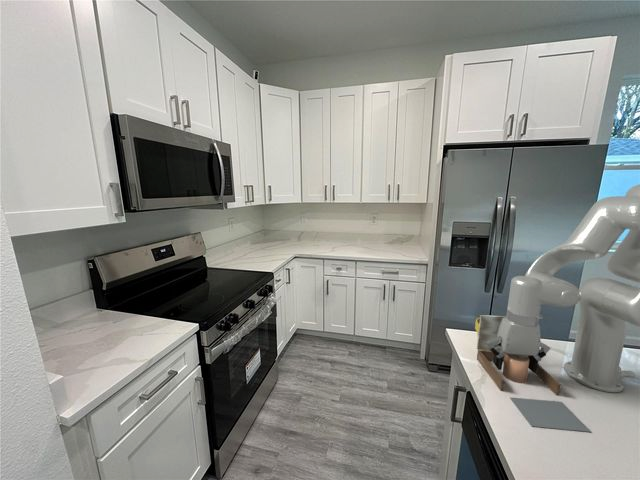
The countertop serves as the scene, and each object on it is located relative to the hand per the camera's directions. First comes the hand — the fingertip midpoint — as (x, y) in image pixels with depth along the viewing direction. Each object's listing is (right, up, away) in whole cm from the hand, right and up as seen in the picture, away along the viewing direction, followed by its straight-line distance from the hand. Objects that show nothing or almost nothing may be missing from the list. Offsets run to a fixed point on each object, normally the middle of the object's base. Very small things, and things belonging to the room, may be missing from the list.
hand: (514, 368), depth 79 cm
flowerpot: (0, -3, 0) cm, 3 cm away
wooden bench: (+1, -2, +1) cm, 3 cm away
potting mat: (-2, -5, -13) cm, 14 cm away
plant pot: (+2, 0, +15) cm, 15 cm away
